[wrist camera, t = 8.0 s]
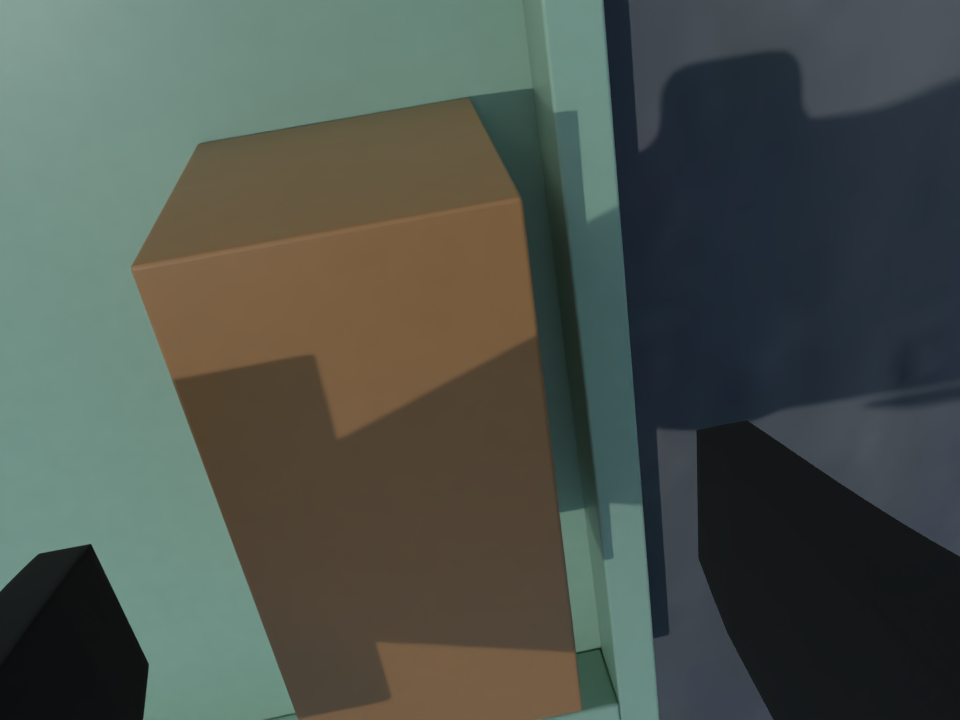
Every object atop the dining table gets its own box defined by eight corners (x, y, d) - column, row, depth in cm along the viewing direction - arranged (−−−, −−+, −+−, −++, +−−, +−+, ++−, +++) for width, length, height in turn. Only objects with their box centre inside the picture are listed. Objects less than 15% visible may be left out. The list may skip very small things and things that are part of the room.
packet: (469, 95, 13) (523, 197, 9) (529, 516, 17) (583, 711, 13) (196, 143, 13) (127, 267, 9) (322, 556, 17) (314, 766, 13)
